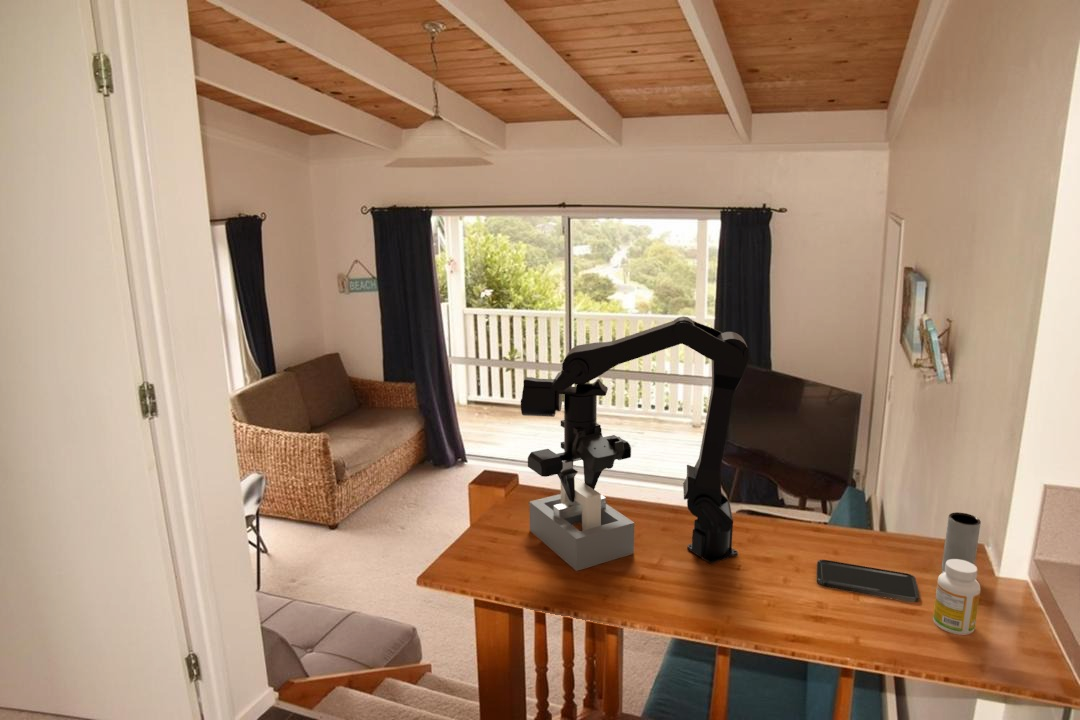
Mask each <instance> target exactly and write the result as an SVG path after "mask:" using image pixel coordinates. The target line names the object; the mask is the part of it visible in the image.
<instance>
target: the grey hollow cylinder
mask: <svg viewBox="0 0 1080 720" xmlns="http://www.w3.org/2000/svg"><path fill="white" fill-rule="evenodd" d="M981 522H982V521H981V520H980V519H979V518H978V517H977V516H974V515H973V514H971V513H965V512H950V513H949V515H948V517H947V526H946V533H945V538H944V539H945V540H944V548H943V555H942V562H941V571H942V572H941V574H942V573H944V572H945V564H946V561H947V560H950V559H960V560H964V561H967V562H970V563H972V564H974V565H975V563H976V559H977V558H976V557H977V550H978V544H979V538H980V529H981ZM975 566H976V565H975Z"/></svg>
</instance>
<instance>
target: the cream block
mask: <svg viewBox="0 0 1080 720" xmlns="http://www.w3.org/2000/svg"><path fill="white" fill-rule="evenodd" d="M574 484H575V498H574V500H575V501H577V502H578V503H580V504H581V505H582V524H581V531H583V530H587V529H591V528H594V527H598V526H601V495H602V494H601V492H599V491H597V490H595V489H592V488H591V487H589V486H588V485H586V484H585V482H583V481H581V480H580V479H579V478H577V477H576V476H575V477H574ZM560 494H561V504H562V503H566V502H570V500H569V498H568V496H567V494H566V492H565V489H564V487H563V485H562V482H561V481H560Z"/></svg>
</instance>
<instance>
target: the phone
mask: <svg viewBox="0 0 1080 720" xmlns="http://www.w3.org/2000/svg"><path fill="white" fill-rule="evenodd" d="M816 583H817V585H818V586H821V587H824V588H828V589H829V588H830V589H834V590H840V591H846V592H852V593H856V594H857V593H858V594H864V595H868V596H873V597H878V596H879V597H880V598H884V597H886V598H885V599H890V598H892V599H891V600H895V599H898V600H897V601H901V602H906V603H912V602H916V603H919V601H920V592H919V588H918V583H917V579H916V577H915V576H914V575H913V574H911V573H907V572H906V573H905V572H900V571H895V570H888V569H882V568H876V567H871V566H865V565H864V566H863V565H858V564H853V563H852V564H851V563H848V562H847V563H846V562H842V561H841V562H840V561H833V560H828V559H818V560H817V562H816ZM879 597H878V598H879Z"/></svg>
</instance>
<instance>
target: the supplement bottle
mask: <svg viewBox="0 0 1080 720" xmlns="http://www.w3.org/2000/svg"><path fill="white" fill-rule="evenodd" d="M977 577H978V567H977V566H976V565H974V564H972V563H970V562H967V561H964V560H960V559H950V560H947V561H946V564H945V572H944V573H942V572H941V573H940V574H939V575H938V578H937V583H936V590H935V591H936V592H935V599H934V606H933V615H932V620H933V623H934V624H935V625H936V626H937V627H938V628H939V629H941V630H943V631H946V632H948V633H950V634H953V635H960V636H965V635H970V634H972V633H973V632H974V631H975V628H976V622H977V615H978V608H979V602H980V596H981V585H980V583H979V581H977Z"/></svg>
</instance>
